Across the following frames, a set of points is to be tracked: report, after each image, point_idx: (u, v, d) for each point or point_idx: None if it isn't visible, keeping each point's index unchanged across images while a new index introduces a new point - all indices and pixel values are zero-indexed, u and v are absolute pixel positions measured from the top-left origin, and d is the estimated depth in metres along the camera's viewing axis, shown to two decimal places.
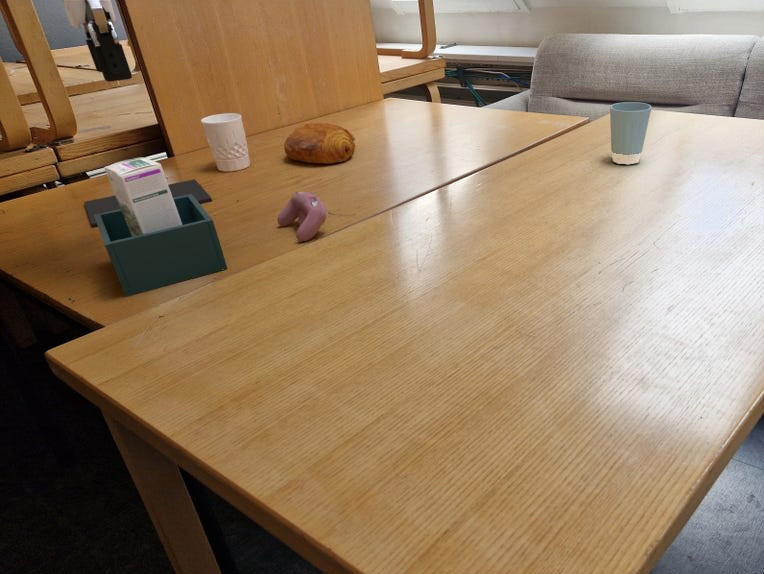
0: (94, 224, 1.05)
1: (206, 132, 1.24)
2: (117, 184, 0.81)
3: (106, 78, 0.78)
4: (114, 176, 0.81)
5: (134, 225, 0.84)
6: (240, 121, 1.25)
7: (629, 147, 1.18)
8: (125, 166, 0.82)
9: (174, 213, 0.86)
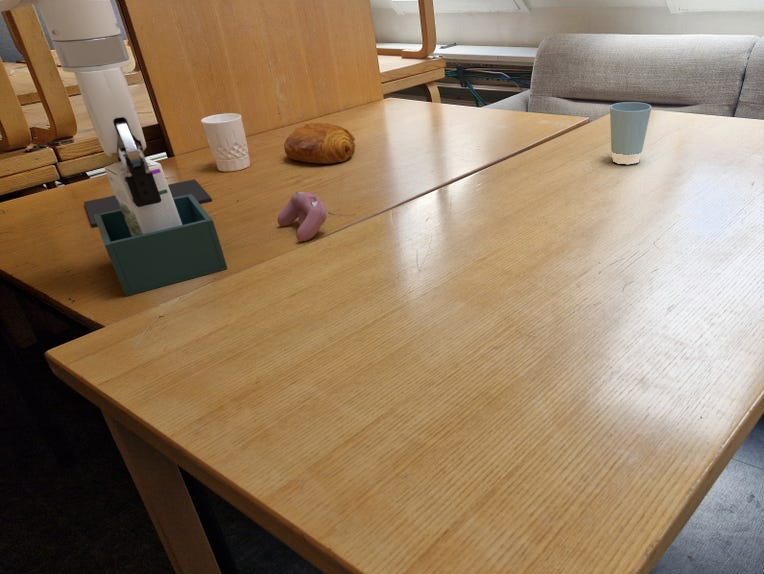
0: (94, 224, 1.05)
1: (206, 132, 1.24)
2: (117, 184, 0.81)
3: (137, 204, 0.81)
4: (114, 176, 0.81)
5: (134, 225, 0.84)
6: (240, 121, 1.25)
7: (629, 147, 1.18)
8: None
9: (174, 213, 0.86)
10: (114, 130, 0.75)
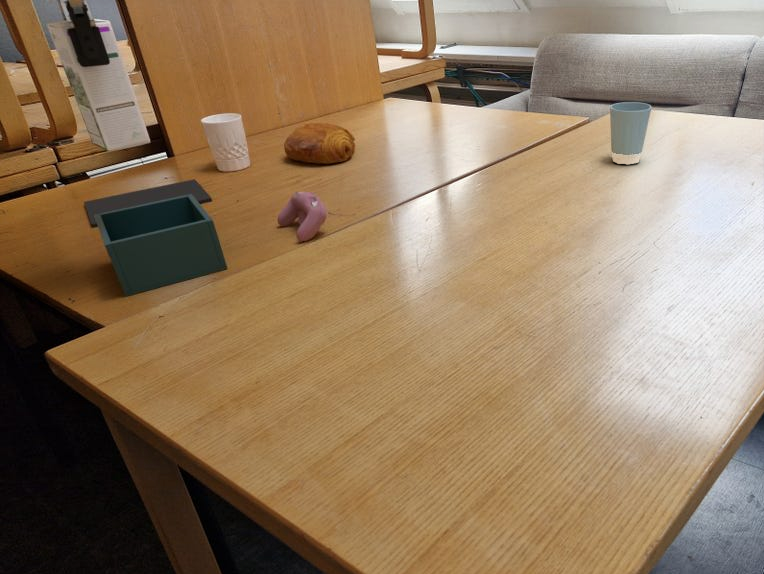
0: (94, 224, 1.05)
1: (206, 132, 1.24)
2: (60, 41, 0.73)
3: (81, 63, 0.73)
4: (56, 30, 0.72)
5: (80, 92, 0.76)
6: (240, 121, 1.25)
7: (629, 147, 1.18)
8: None
9: (126, 82, 0.77)
10: None
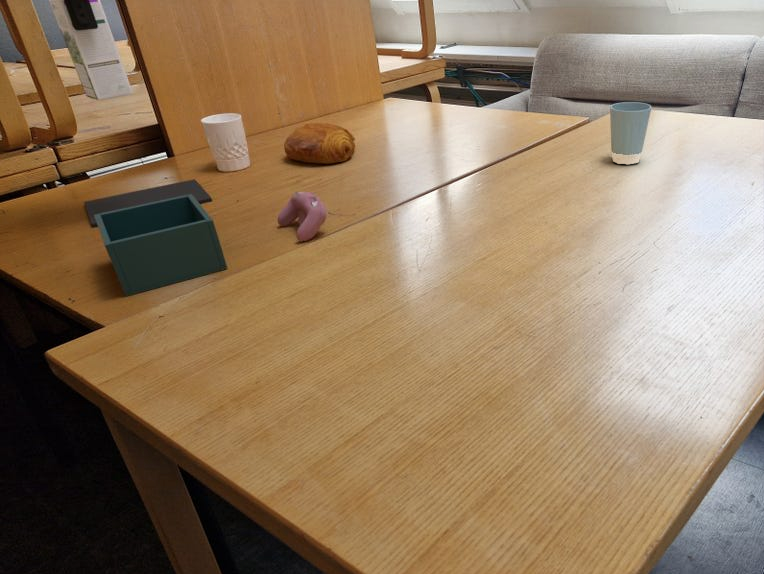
0: (94, 224, 1.05)
1: (206, 132, 1.24)
2: (58, 9, 0.91)
3: (75, 27, 0.91)
4: (55, 1, 0.91)
5: (75, 52, 0.94)
6: (240, 121, 1.25)
7: (629, 147, 1.18)
8: None
9: (112, 44, 0.96)
10: None
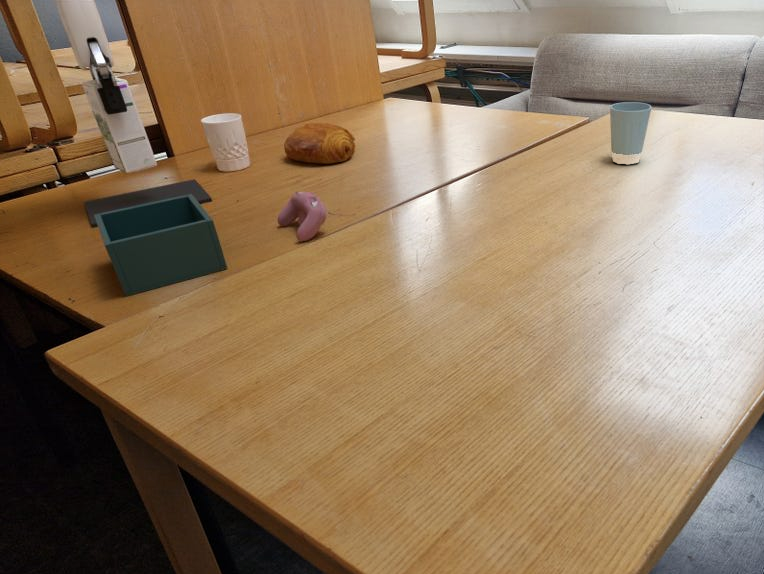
0: (94, 224, 1.05)
1: (206, 132, 1.24)
2: (91, 96, 1.01)
3: (107, 112, 1.01)
4: (89, 89, 1.01)
5: (106, 131, 1.04)
6: (240, 121, 1.25)
7: (629, 147, 1.18)
8: None
9: (139, 123, 1.06)
10: (87, 47, 0.95)
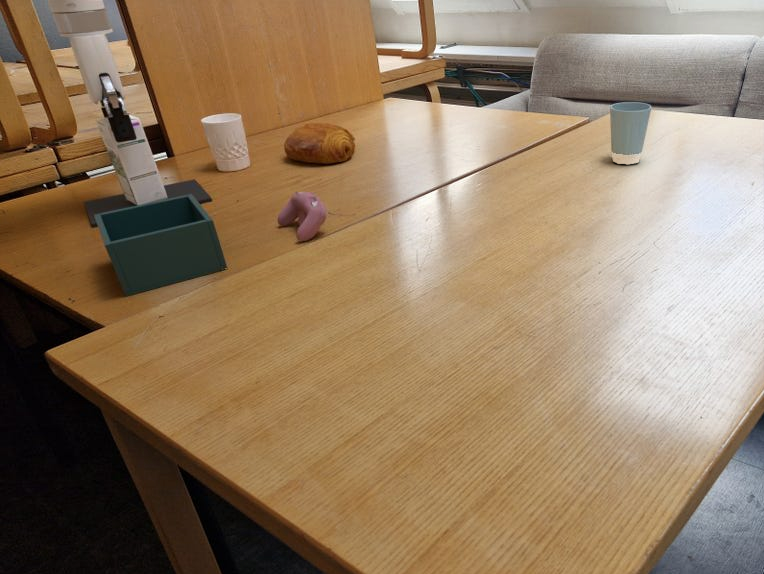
0: (94, 224, 1.05)
1: (206, 132, 1.24)
2: (105, 133, 1.05)
3: (117, 140, 1.03)
4: (103, 127, 1.04)
5: (119, 167, 1.08)
6: (240, 121, 1.25)
7: (629, 147, 1.18)
8: None
9: (150, 158, 1.09)
10: (99, 82, 0.98)
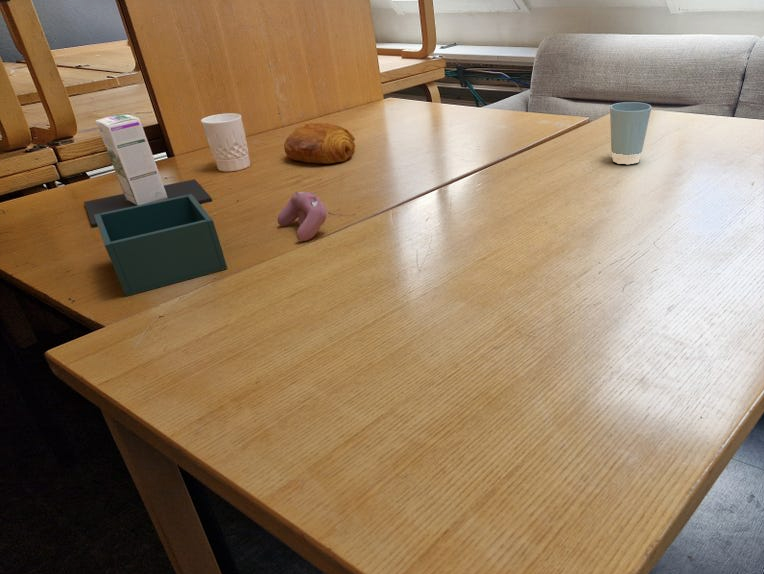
0: (94, 224, 1.05)
1: (206, 132, 1.24)
2: (105, 133, 1.05)
3: None
4: (103, 127, 1.04)
5: (119, 167, 1.08)
6: (240, 121, 1.25)
7: (629, 147, 1.18)
8: (111, 119, 1.05)
9: (150, 158, 1.09)
10: None
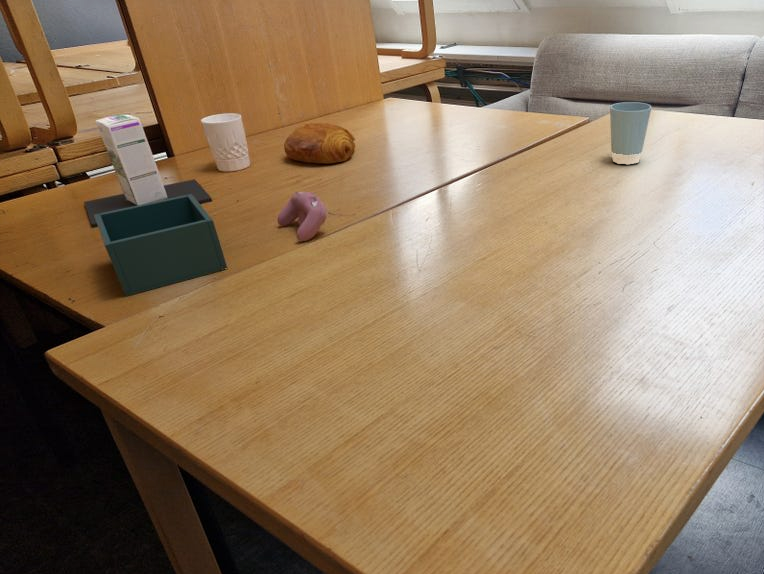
0: (94, 224, 1.05)
1: (206, 132, 1.24)
2: (105, 133, 1.05)
3: None
4: (103, 127, 1.04)
5: (119, 167, 1.08)
6: (240, 121, 1.25)
7: (629, 147, 1.18)
8: (111, 119, 1.05)
9: (150, 158, 1.09)
10: None
